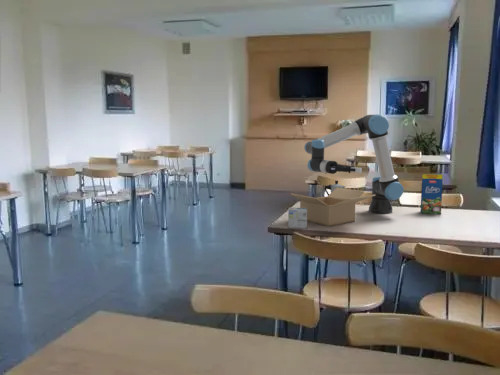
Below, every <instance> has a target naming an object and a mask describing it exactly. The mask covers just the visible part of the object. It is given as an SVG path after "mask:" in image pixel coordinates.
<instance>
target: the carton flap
mask: <svg viewBox="0 0 500 375" xmlns="http://www.w3.org/2000/svg"><path fill="white" fill-rule="evenodd" d="M373 196H375V195H372V194H371V195H361V196H360V197H355V198H349V199H347V200H344V201H342V202H339V203H336V204H334V205H331V206H330V207H333V206H339V205H346V204H352V203H355V204H356V203H359V202H362V201H365V200H367V199H370V198H372V197H373Z"/></svg>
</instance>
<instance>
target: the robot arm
mask: <svg viewBox="0 0 500 375" xmlns="http://www.w3.org/2000/svg"><path fill="white" fill-rule="evenodd" d="M389 127H390V122H389V119H388V118H387V117H386V116H385V115H381V114H366V115H363V117H361V118H358V119H356V120H354V121H353V122H352V123H351V124H348V125H347V126H344V127H342V128H340V129H337V130H335V131H333V132H330V133H328V134H325V135H323V136H321V137H319V138H316V139H312V140H311V141H308V142H305V144H304V151H305V152H306V154H310V155H311V158H310V159H309V160H308V162H307V168H308V170H309V171H310V172H315V173H322V174H323V173H324V174H325V175H327V174H331V175H335V174H336V173H337V172H345V173H347V172H348V174H351V173H357V174H362V173H363V171H362V170H363V169H362V167H356V166H354V165H347V164H345V165H344V164H339V163H338V162H337V161H335V160H326V159H325V149H327V148H330V147H332V146H334V145H336V144H339V143H342V142H344V141H346V140H348V139H351V138H352V137H356V136H362V135H365V134H367V136H368V139H369V140H371V142H372V145H373V150H374V154H375V158H376V163H377V167H378V171H379V176H374V177H372V180H371V181H372V182H371V195H375V196H373V197H371V200H370V204H369V206H368V212H369V213H372V214H380V215H381V214H392V213H393V205H392V202H391V201H396V200H398V199H400V198H401V197H402V195H403V194H404V186H403V185H402V183H401V182H399V176H397V175H396V174H395V170H394V167H393V161H392V157H391V152H390V149H389V143H388V140H387V137H388V135H389V132H388V130H389Z"/></svg>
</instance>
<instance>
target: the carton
mask: <svg viewBox="0 0 500 375" xmlns="http://www.w3.org/2000/svg"><path fill="white" fill-rule="evenodd" d="M364 193H365V191H363V190H357V189H356V190H355V189H350V188H346V187H345V188H338V187H337V188H336V189H335V190H334V191H333V192H331V191H330V193H329V195H327V196H321V197H315V196H314V197H312V196H308V195H303V194H297V193H293V192H291V193H290V195H291V196H293V197H295V198H297V199H298V201H300V203H299V204H300V205H299V206H300V207H299V208H307V223H313V224H317V225H321V226H325V227H328V228H329V227H333V226H338V225H339V226H340V225H344V224H349V223H355V221H356V203H352V204H346V205H339V206H333V207H330V206H331V205H334V204H336V203H339V202H342V201H344V200H347V199H349V198H355V197H362V196H363V194H364Z"/></svg>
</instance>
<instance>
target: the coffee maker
mask: <svg viewBox="0 0 500 375" xmlns="http://www.w3.org/2000/svg"><path fill="white" fill-rule="evenodd" d="M337 187H338V188H345V189H346V186H344V185H341V184H339V180H334V184H328V185H325V186H324V187H323V190H324V191H325V193H326V195H327V196H328V195H329V194H330V193H331V192H333V191H334V190H335V189H336V188H337ZM328 190H330V193H329V191H328Z"/></svg>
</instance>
